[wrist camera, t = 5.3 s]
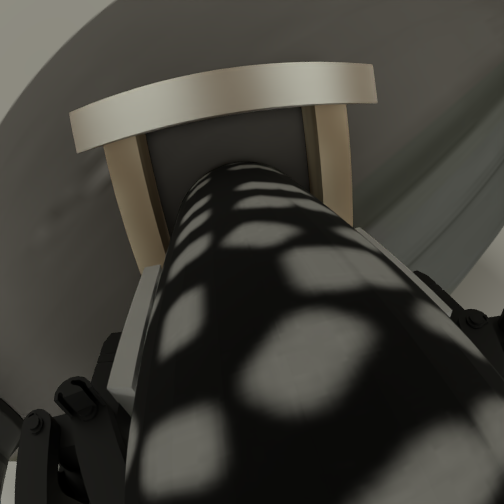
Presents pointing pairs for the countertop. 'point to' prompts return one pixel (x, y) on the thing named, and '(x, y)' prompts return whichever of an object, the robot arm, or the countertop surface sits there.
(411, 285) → the white-spotted black cylinder
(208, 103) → the guide channel
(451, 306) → the robot arm
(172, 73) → the countertop surface
